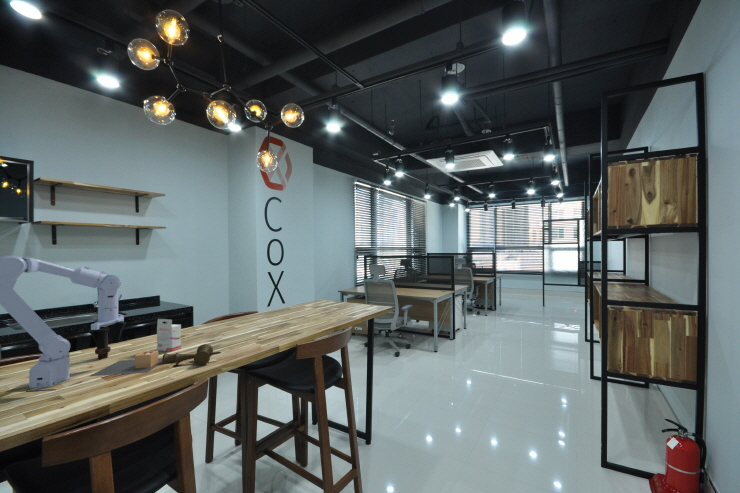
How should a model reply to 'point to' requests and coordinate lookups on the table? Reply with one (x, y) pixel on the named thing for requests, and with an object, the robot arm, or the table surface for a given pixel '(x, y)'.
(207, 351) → the kendama
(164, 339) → the ink cartridge box
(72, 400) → the table surface
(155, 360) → the tan cube block
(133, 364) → the board
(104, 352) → the bolt
